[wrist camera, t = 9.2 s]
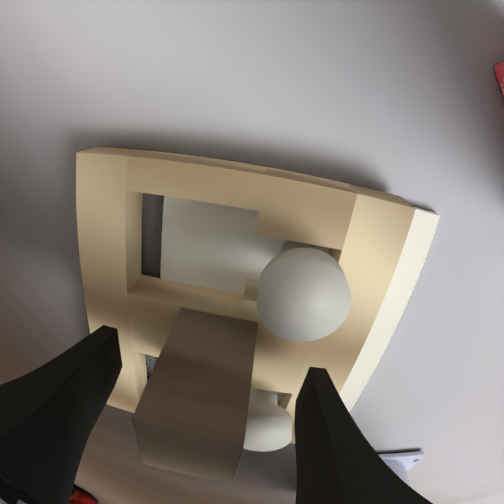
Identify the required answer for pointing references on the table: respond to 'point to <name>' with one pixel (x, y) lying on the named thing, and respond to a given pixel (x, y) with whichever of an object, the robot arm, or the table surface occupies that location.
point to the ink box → (500, 75)
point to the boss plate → (247, 255)
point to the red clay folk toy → (81, 497)
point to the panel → (220, 296)
